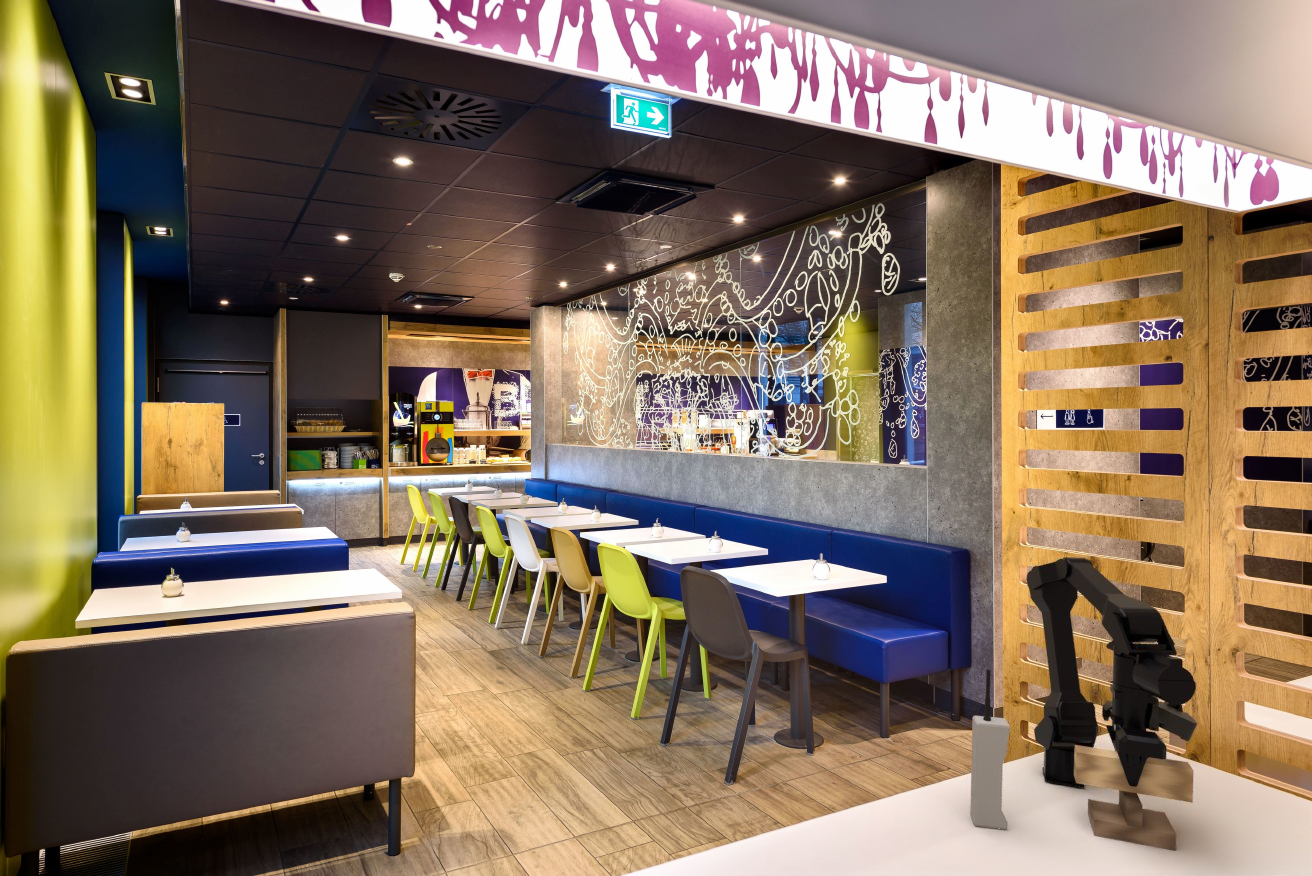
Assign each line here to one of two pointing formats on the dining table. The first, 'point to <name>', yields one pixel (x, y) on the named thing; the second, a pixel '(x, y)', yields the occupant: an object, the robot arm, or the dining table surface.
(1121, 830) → the ridge stand
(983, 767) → the vintage mobile phone
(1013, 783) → the dining table surface
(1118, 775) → the light wooden block
